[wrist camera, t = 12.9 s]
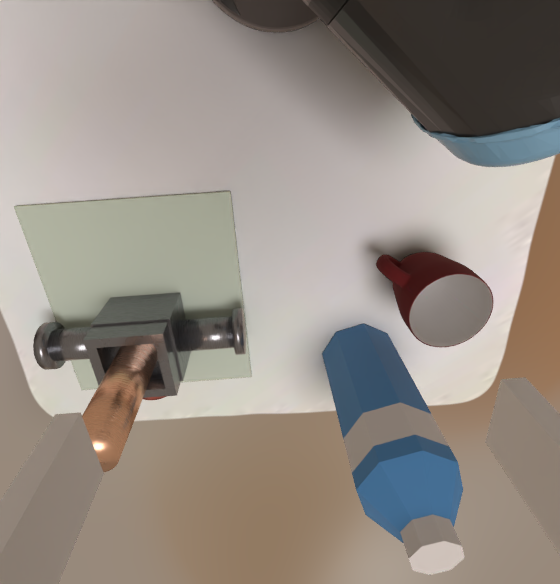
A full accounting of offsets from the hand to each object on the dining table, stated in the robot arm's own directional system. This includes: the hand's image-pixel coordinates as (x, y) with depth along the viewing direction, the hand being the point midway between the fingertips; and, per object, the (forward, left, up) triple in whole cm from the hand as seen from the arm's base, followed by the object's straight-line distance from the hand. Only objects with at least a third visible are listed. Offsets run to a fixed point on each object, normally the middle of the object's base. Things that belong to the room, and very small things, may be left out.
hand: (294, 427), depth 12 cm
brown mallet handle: (+14, -15, -25) cm, 33 cm away
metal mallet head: (+15, -15, -31) cm, 38 cm away
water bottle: (+21, +10, -32) cm, 39 cm away
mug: (+9, +15, -32) cm, 36 cm away
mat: (+11, -15, -32) cm, 37 cm away
